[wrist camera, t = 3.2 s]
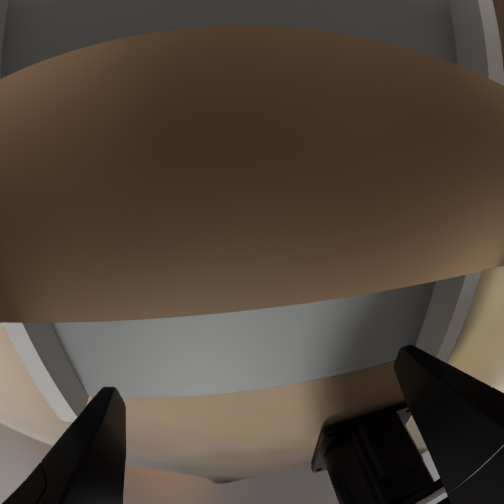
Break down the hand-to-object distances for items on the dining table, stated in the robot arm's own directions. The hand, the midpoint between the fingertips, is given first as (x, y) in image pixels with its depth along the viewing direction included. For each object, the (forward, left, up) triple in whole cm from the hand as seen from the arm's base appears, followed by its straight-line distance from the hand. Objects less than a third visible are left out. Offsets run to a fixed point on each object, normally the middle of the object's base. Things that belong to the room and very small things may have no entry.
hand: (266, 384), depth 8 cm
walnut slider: (+6, 0, -2) cm, 7 cm away
